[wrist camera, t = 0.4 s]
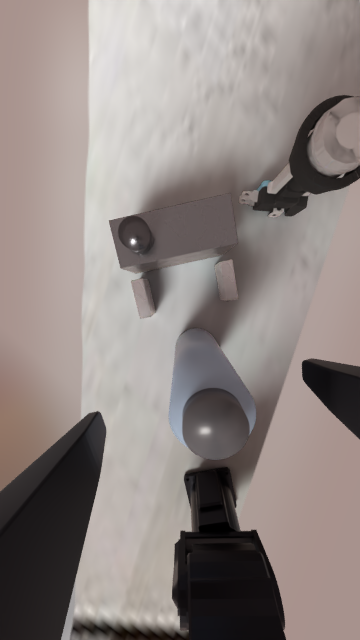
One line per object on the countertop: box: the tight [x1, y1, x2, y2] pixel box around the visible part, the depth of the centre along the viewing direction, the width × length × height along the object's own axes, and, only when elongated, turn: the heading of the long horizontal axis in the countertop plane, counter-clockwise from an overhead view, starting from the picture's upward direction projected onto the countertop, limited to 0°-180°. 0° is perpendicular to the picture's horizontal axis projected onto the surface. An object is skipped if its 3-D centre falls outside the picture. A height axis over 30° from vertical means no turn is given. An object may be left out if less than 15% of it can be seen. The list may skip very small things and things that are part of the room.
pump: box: [169, 328, 256, 460], centre depth 17 cm, size 5×5×14 cm
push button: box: [239, 95, 360, 217], centre depth 16 cm, size 7×5×10 cm
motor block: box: [109, 193, 238, 319], centre depth 19 cm, size 9×10×8 cm
